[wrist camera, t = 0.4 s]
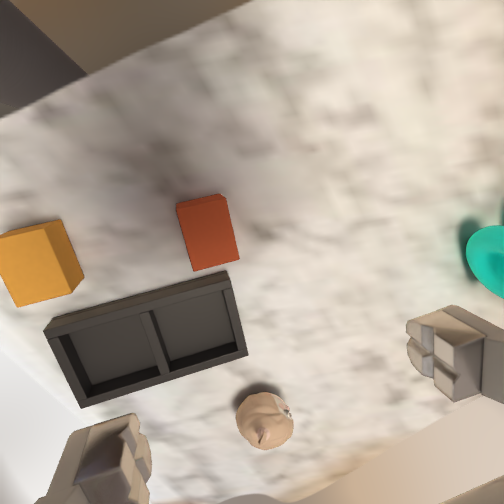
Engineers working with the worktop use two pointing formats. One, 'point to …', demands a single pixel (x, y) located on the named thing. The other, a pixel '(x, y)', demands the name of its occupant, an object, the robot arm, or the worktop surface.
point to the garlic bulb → (264, 420)
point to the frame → (147, 338)
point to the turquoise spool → (488, 257)
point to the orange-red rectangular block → (207, 231)
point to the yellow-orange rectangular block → (38, 263)
